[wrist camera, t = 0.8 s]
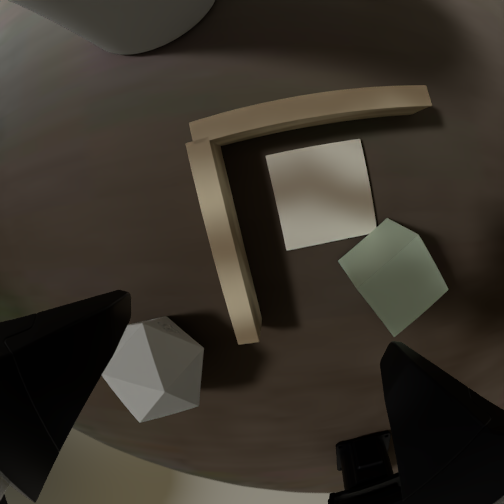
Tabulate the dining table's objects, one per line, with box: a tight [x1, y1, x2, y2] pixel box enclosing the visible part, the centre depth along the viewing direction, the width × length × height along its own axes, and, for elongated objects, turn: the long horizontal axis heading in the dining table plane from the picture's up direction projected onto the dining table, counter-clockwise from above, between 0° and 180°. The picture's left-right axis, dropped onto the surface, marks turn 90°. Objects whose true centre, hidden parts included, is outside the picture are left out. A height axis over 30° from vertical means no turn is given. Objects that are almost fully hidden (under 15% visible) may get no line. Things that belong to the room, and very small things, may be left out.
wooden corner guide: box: [185, 85, 432, 345], centre depth 19 cm, size 15×16×4 cm
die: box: [102, 316, 204, 423], centre depth 21 cm, size 8×9×10 cm
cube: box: [338, 218, 449, 337], centre depth 18 cm, size 5×5×5 cm
